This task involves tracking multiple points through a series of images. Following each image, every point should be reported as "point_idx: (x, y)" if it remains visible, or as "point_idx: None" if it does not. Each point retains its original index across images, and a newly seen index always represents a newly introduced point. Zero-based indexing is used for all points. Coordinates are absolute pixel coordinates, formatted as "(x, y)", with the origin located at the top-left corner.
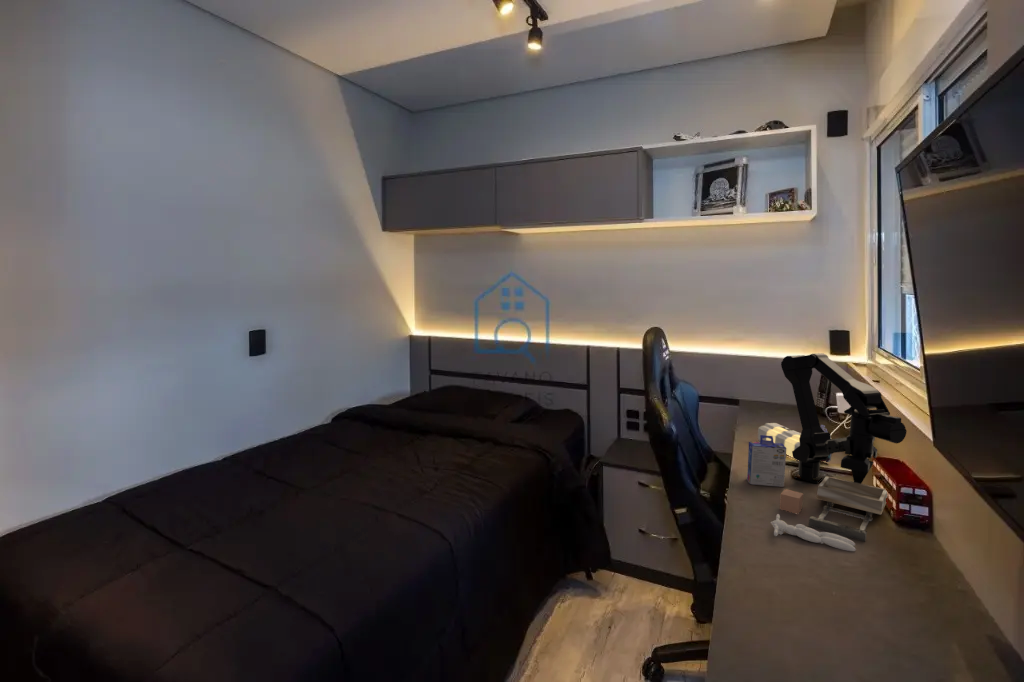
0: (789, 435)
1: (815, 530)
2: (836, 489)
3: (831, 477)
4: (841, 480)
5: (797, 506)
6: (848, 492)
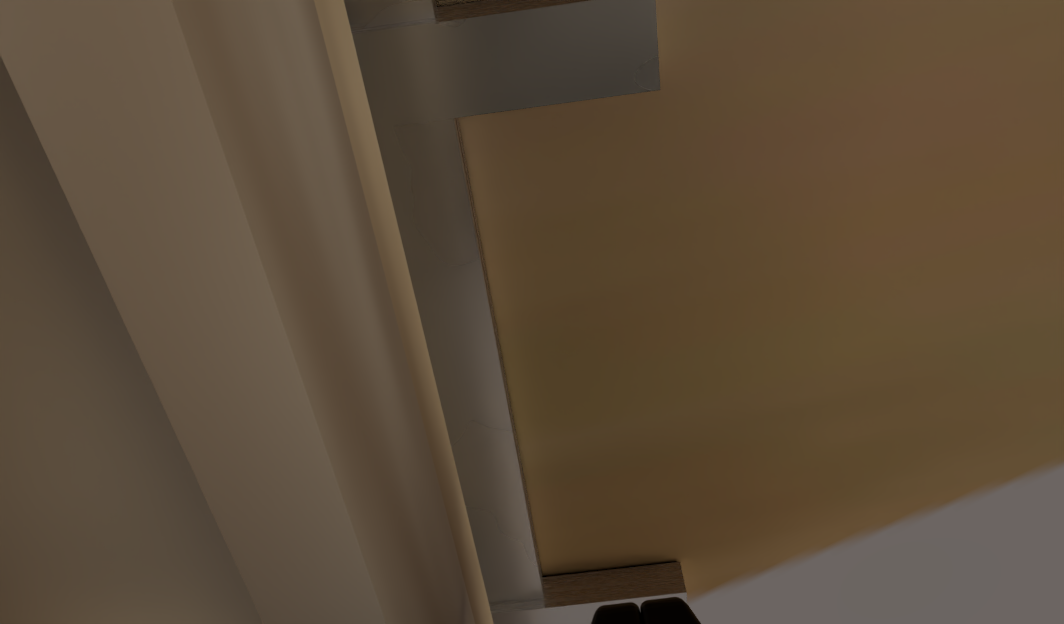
0: None
1: None
2: (90, 260)
3: (110, 157)
4: (223, 530)
5: None
6: (186, 518)
